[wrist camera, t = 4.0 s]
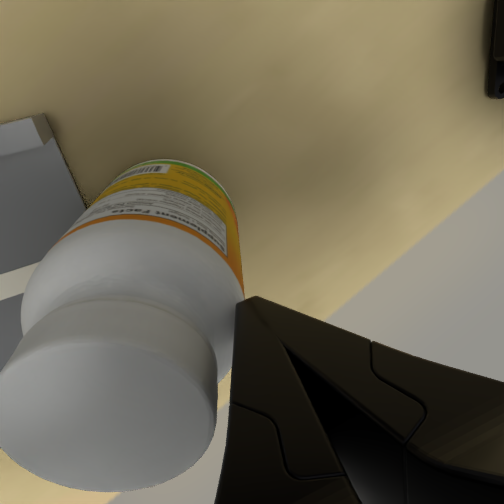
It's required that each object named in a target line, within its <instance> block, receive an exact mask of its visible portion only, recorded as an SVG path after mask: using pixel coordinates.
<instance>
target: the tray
mask: <svg viewBox="0 0 504 504" xmlns="http://www.w3.org/2000/svg"><path fill="white" fill-rule="evenodd" d="M86 210H87V208H86V206H85V204H84V202H83V199H82V197H81V195H80V193H79V191H78V188H77V186H76V184H75V182H74V179H73V177H72V175H71V173H70V170H69V168H68V166H67V164H66V162H65V159H64V157H63V155H62V153H61V150H60V148H59V146H58V144H57V141H56V139H55V137H54V135H53V132H52V130H51V128H50V126H49V124H48V121H47V119H46V117H45V115H44V113H41V114H37V115H33V116H29V117H25V118H21V119H17V120H13V121H9V122H5V123H1V124H0V372H1V370H2V369H3V367H4V366H5V365H6V363H7V362H8V360H9V359H10V357H11V356H12V355H13V353H14V352H15V350H16V348H17V346H18V344H19V342H20V341H21V339H22V338H23V333H22V326H21V305H22V299H23V295H24V292H25V288H26V286H27V283H28V281H29V279H30V277H31V275H32V274H33V272H34V270H35V269H36V267H37V266H38V265H39V263H40V262H41V261H42V259H43V258H44V256H45V255H46V254H47V252H48V251H49V250H50V249H51V248H52V247H53V246H54V245H55V244H56V243H57V241H58V240H59V239H60V238H61V237H62V236H63V235H64V234H65V233H66V232H67V231H68V230H69V229H70V227H71V226H72V225H73V224H74V223H75V222H76V221H77V220H78V219H79V218H80V216H81V215H82V214H83V213H84V212H85V211H86ZM0 448H1V447H0Z"/></svg>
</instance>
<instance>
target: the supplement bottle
mask: <svg viewBox="0 0 504 504" xmlns="http://www.w3.org/2000/svg"><path fill="white" fill-rule="evenodd" d="M243 300H245V296H244V285H243V276H242V265H241V255H240V246H239V235H238V225H237V218H236V214H235V209H234V206H233V204H232V201H231V199H230V197H229V195H228V194H227V192H226V191H225V189H224V188H223V187H222V186H221V184H220V183H219V182H218V181H217V180H216V179H215V178H213V177H212V176H211V175H210V174H208V173H207V172H206V171H204V170H202V169H201V168H199V167H197V166H195V165H193V164H190V163H187V162H183V161H179V160H172V159H157V160H150V161H146V162H142V163H139V164H137V165H134V166H132V167H131V168H129V169H127V170H126V171H124V172H123V173H122V174H120V175H119V176H118V177H117V178H116V179H114V180H113V181H112V182H111V183H110V185H109V186H108V187H107V188H106V189H105V190H104V191H103V192H102V193H101V194H100V195H99V196H98V198H97V199H96V200H95V201H94V202H93V203H92V204H91V205H90V206H89V208H88V209H87V210H86V211H85V212H84V213H83V214H82V215H81V216H80V218H79V219H78V220H77V221H76V222H75V223H74V224H73V225H72V226H71V227H70V229H69V230H68V231H67V232H66V233H65V234H64V235H63V236H62V237H61V238H60V239H59V240H58V241H57V243H56V244H55V245H54V246H53V247H52V248H51V249H50V250H49V251H48V252H47V254H46V255H45V256H44V258H43V259H42V261H41V262H40V263H39V265H38V266H37V267H36V269H35V270H34V272H33V274H32V275H31V277H30V279H29V281H28V283H27V286H26V288H25V292H24V295H23V299H22V305H21V326H22V333H23V338H22V339H21V341H20V342H19V344H18V346H17V348H16V350H15V352H14V353H13V355H12V356H11V357H10V359H9V360H8V362H7V363H6V365H5V366H4V367H3V369H2V370H1V372H0V447H1V448H2V449H3V451H4V452H5V453H6V454H7V455H8V456H9V457H10V458H11V459H12V460H14V461H15V462H16V463H17V464H19V465H20V466H21V467H23V468H25V469H26V470H28V471H30V472H31V473H33V474H35V475H37V476H39V477H41V478H43V479H45V480H48V481H51V482H53V483H56V484H59V485H62V486H66V487H69V488H75V489H80V490H85V491H96V492H124V491H133V490H138V489H143V488H148V487H152V486H155V485H158V484H161V483H164V482H166V481H168V480H170V479H172V478H174V477H176V476H178V475H180V474H181V473H183V472H185V471H186V470H187V469H189V468H190V467H192V466H193V465H194V464H195V463H196V462H197V461H198V460H199V459H200V458H201V457H202V455H203V454H204V453H205V451H206V450H207V448H208V446H209V444H210V442H211V440H212V438H213V436H214V431H215V426H216V420H217V419H216V418H217V400H218V383H219V382H220V381H221V380H222V379H223V378H224V377H225V375H226V374H227V373H228V372H229V370H230V369H231V367H232V356H233V340H234V324H235V308H236V304H237V303H238V302H241V301H243Z"/></svg>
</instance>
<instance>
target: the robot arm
mask: <svg viewBox="0 0 504 504" xmlns="http://www.w3.org/2000/svg"><path fill="white" fill-rule="evenodd" d="M488 96H489V97H490V98H491V99H502V98H504V0H494V13H493V26H492V39H491V52H490V65H489V78H488ZM214 504H504V382H501V381H498V380H494V379H491V378H487V377H484V376H480V375H477V374H473V373H470V372H466V371H463V370H460V369H456V368H453V367H449V366H446V365H442V364H439V363H436V362H432V361H429V360H426V359H422V358H420V357H416V356H413V355H410V354H408V353H405V352H402V351H399V350H396V349H394V348H391V347H388V346H386V345H383V344H380V343H378V342H375V341H372V342H371V341H370V340H369V339H367V338H365V337H362V336H359V335H357V334H354V333H352V332H349V331H347V330H344V329H341V328H338V327H336V326H333V325H331V324H328V323H326V322H323V321H321V320H318V319H316V318H313V317H310V316H308V315H305V314H303V313H300V312H297V311H295V310H292V309H290V308H287V307H285V306H282V305H279V304H277V303H274V302H272V301H269V300H266V299H264V298H261V297H259V296H253V297H251V298H248V299H246V300H243V301H241V302H238V303H237V304H236V308H235V324H234V340H233V356H232V372H231V388H230V406H229V417H228V428H227V438H226V447H225V452H224V458H223V463H222V469H221V474H220V479H219V484H218V489H217V493H216V498H215V503H214Z"/></svg>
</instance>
